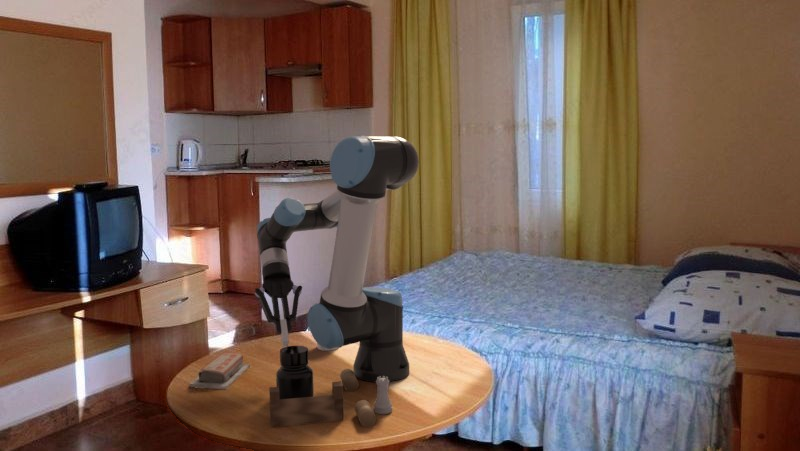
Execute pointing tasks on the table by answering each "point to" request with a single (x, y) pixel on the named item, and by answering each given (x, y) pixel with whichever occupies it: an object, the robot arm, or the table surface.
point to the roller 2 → (365, 413)
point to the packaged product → (221, 372)
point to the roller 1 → (349, 380)
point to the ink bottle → (294, 373)
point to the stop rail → (306, 408)
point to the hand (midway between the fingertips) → (285, 343)
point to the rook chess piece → (382, 396)
